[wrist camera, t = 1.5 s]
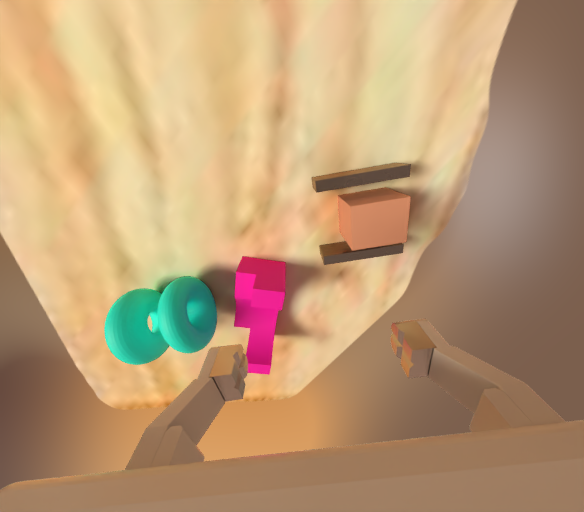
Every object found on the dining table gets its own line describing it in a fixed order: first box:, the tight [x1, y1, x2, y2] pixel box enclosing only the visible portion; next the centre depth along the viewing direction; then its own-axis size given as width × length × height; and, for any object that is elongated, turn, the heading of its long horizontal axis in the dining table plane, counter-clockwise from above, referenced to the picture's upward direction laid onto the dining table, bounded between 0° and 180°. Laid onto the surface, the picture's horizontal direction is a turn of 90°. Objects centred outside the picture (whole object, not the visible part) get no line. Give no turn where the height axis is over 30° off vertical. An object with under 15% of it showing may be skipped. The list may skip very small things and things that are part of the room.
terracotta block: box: [338, 187, 411, 251], centre depth 25 cm, size 5×6×6 cm
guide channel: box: [312, 163, 411, 265], centre depth 26 cm, size 10×10×4 cm
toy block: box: [234, 256, 285, 374], centre depth 30 cm, size 15×6×8 cm, turn 170°
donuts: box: [105, 276, 217, 365], centre depth 28 cm, size 10×10×10 cm
